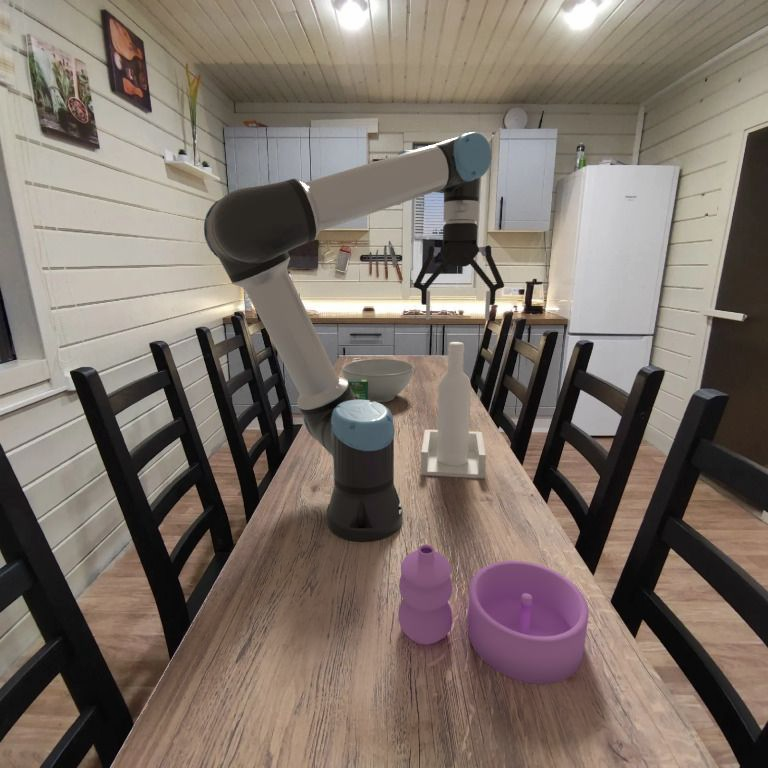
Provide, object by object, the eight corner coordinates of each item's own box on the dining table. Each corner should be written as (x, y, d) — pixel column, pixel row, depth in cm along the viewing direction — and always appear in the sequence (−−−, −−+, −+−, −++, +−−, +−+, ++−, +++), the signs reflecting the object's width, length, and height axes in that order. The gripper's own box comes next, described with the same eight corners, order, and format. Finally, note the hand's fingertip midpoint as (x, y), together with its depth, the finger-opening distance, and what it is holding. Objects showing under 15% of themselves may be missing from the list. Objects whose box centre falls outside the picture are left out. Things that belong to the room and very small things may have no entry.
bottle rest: (484, 478, 108) (485, 455, 107) (420, 474, 110) (421, 452, 109) (480, 452, 123) (481, 431, 121) (424, 450, 125) (424, 429, 123)
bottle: (467, 467, 112) (473, 346, 104) (435, 465, 113) (438, 345, 105) (468, 454, 119) (473, 340, 111) (438, 452, 121) (440, 339, 113)
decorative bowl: (410, 387, 185) (411, 358, 182) (417, 408, 160) (417, 374, 156) (344, 388, 185) (343, 359, 182) (340, 409, 159) (339, 375, 156)
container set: (562, 598, 70) (571, 522, 67) (601, 688, 56) (615, 597, 52) (400, 591, 72) (400, 517, 68) (396, 677, 57) (395, 588, 54)
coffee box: (368, 416, 151) (367, 378, 148) (369, 419, 149) (368, 380, 145) (343, 418, 150) (342, 379, 147) (344, 421, 147) (343, 381, 144)
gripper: (402, 222, 99) (402, 320, 105) (521, 220, 96) (514, 322, 101) (405, 225, 106) (405, 316, 112) (516, 223, 103) (510, 317, 109)
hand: (457, 319), depth 107 cm, fingers open, 13 cm apart
